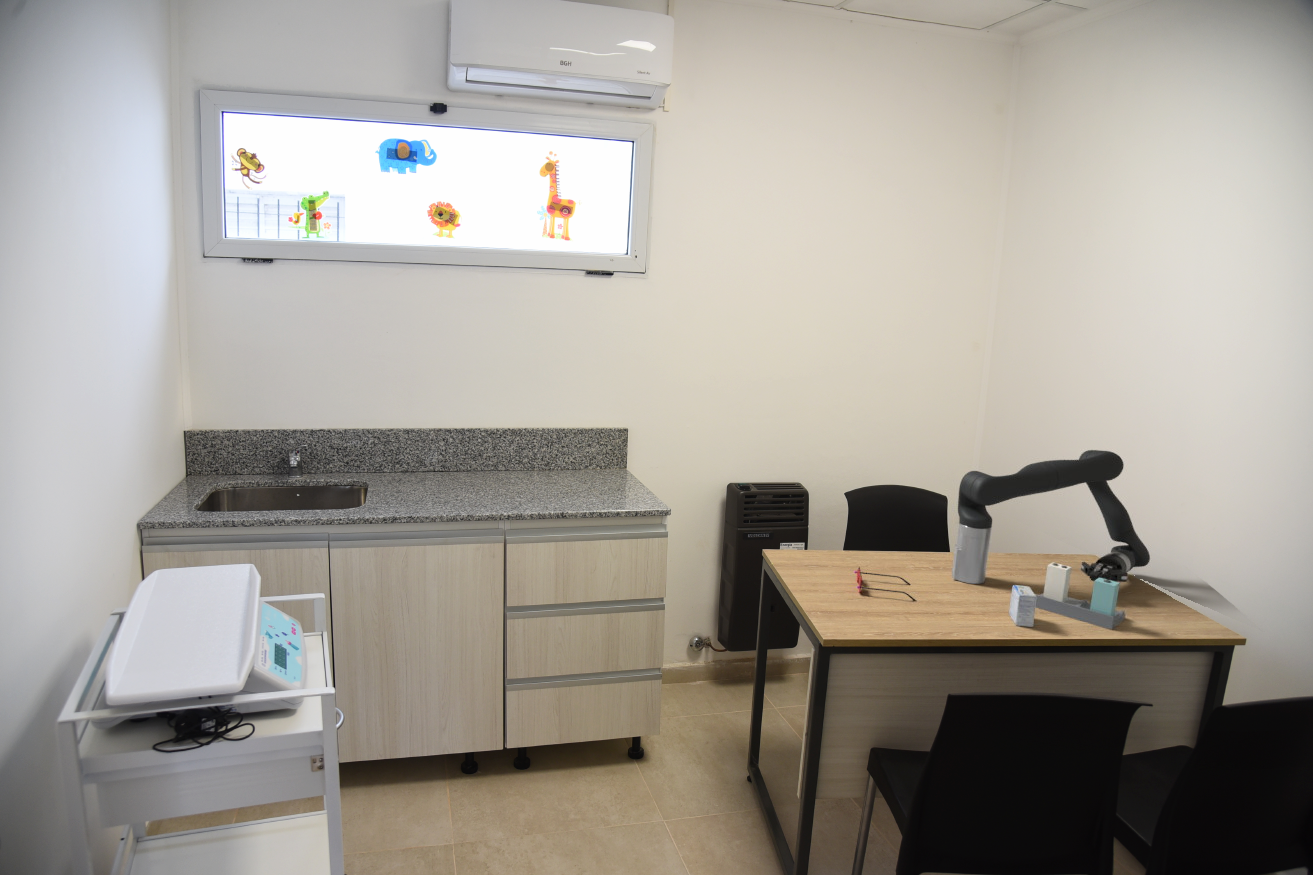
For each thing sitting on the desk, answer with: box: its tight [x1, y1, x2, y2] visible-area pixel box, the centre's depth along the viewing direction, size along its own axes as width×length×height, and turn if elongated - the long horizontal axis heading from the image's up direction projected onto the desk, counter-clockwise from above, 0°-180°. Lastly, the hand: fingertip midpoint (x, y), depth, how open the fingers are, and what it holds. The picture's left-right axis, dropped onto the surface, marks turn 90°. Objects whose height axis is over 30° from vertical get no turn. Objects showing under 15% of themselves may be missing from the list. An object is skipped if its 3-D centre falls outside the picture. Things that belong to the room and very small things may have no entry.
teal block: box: [1090, 578, 1121, 617], centre depth 213 cm, size 4×5×10 cm
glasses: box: [854, 566, 917, 602], centre depth 231 cm, size 14×16×5 cm
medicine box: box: [1008, 584, 1037, 628], centre depth 212 cm, size 8×4×9 cm, turn 168°
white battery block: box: [1043, 562, 1072, 602], centre depth 224 cm, size 4×5×10 cm
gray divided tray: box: [1034, 592, 1127, 631], centre depth 220 cm, size 12×20×4 cm, turn 45°
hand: (1093, 577), depth 228 cm, fingers closed
